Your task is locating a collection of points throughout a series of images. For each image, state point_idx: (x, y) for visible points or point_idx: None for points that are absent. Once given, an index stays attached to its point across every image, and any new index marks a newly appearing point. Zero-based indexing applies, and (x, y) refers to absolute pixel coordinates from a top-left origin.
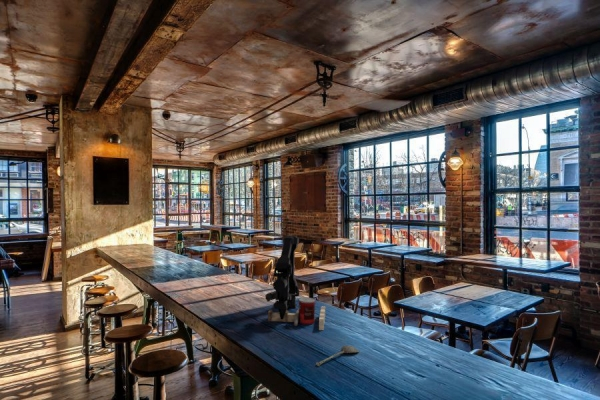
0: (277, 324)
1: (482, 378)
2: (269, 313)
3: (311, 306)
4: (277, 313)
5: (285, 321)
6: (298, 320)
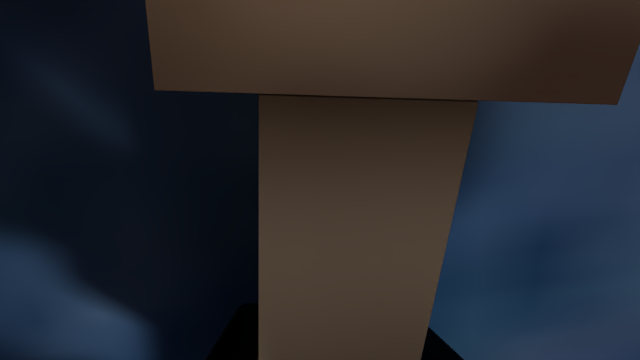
0: (42, 226)
1: None
2: (162, 9)
3: None
4: (326, 304)
5: None
6: None
